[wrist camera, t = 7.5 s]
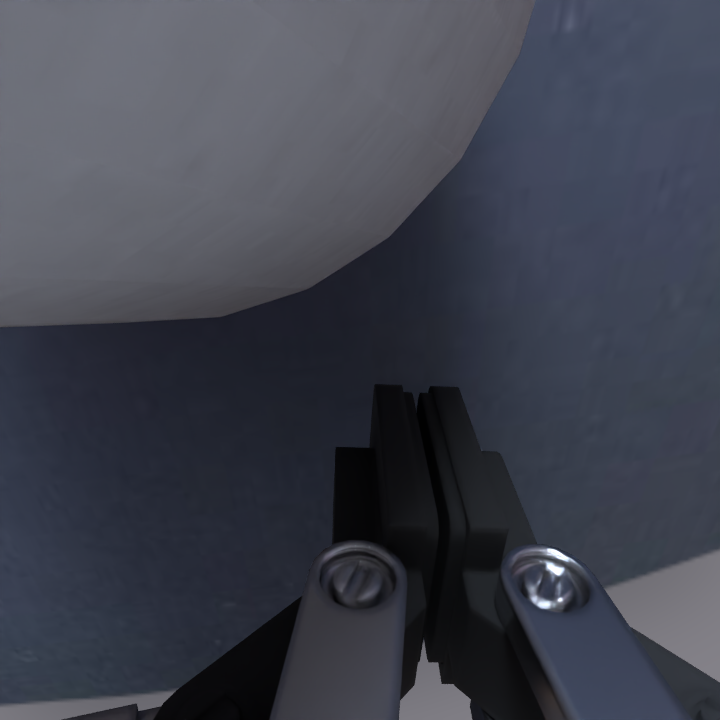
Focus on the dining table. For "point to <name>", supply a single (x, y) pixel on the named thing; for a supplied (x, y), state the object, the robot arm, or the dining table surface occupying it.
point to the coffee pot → (224, 143)
